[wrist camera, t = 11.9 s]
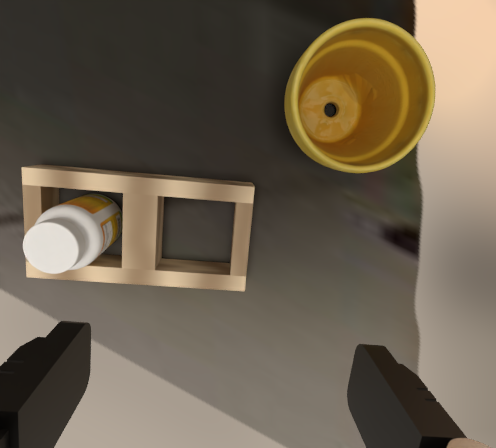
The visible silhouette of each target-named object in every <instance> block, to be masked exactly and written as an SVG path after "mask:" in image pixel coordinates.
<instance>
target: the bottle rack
mask: <svg viewBox="0 0 496 448" xmlns="http://www.w3.org/2000/svg"><path fill="white" fill-rule="evenodd" d="M22 185H23V207H24V229H25V235H26V233H27V232H28V230H29V229H30V228H31V227H33V226H34V225H35V223H36V221H37V219H38V218H39V217H40V216H41V215H42V214H43V213H44V212H45V211H47V210H48V209H50V208H52V207H54V206H57V205H59V188H70V189H82V190H94V191H106V192H118V193H123V229H122V256H121V255H107V254H100V255H99V256H98V257H97V258H96V259H95V260H94V261H93V262H91V263H90V264H88V265H87V266H85V267H83V268H80V269H75V270H67V271H65V272H62V273H58V274H50V273H45V272H42V271H40V270H38V269H36V268H35V267H34V266H32V265H31V264H30V263H29V261H28V260H27V258H26V273H27V277H31V278H46V279H62V280H78V281H93V282H109V283H124V284H140V285H155V286H171V287H186V288H202V289H217V290H233V291H245V282H246V272H247V261H248V251H249V241H250V230H251V220H252V210H253V199H254V189H255V187H254V185H253V183H251V182H239V181H228V180H216V179H205V178H193V177H182V176H170V175H159V174H147V173H136V172H124V171H112V170H101V169H89V168H78V167H66V166H55V165H43V164H42V165H34V166H26V167H22ZM164 196H167V197H179V198H191V199H203V200H215V201H227V202H235V210H234V222H233V234H232V245H231V257H230V263H221V262H207V261H193V260H178V259H164V258H162V237H163V213H164Z"/></svg>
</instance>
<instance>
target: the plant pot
mask: <svg viewBox="0 0 496 448" xmlns="http://www.w3.org/2000/svg"><path fill="white" fill-rule="evenodd" d="M434 102H435V81H434V75H433V71H432V67H431V65H430V62H429V59H428V57H427V55H426V53H425V52H424V50H423V49H422V47H421V46H420V44H419V43H418V42H417V41H416V40H415V38H414V37H412V36H411V35H410V34H409V33H408V32H407V31H405V30H404V29H402V28H400V27H399V26H397V25H395V24H393V23H390V22H387V21H384V20H380V19H373V18H361V19H353V20H349V21H346V22H343V23H340V24H338V25H336V26H334V27H332V28H330V29H328V30H327V31H325V32H324V33H323V34H321V35H320V36H319V37H318V38H317V39H316V40H315V41H314V42H313V43H312V44H311V45H310V46H309V47H308V48H307V49H306V51H305V52H304V53H303V54H302V56H301V57H300V59H299V60H298V62H297V63H296V65H295V67H294V69H293V70H292V73H291V75H290V77H289V80H288V83H287V87H286V92H285V103H284V105H285V116H286V121H287V125H288V128H289V130H290V133H291V135H292V137H293V139H294V140H295V142H296V143H297V145H298V146H299V147H300V148H301V150H302V151H303V152H304V153H305V154H306V155H308V156H309V157H310V158H311V159H313V160H314V161H316V162H318V163H320V164H322V165H324V166H326V167H329V168H332V169H335V170H339V171H344V172H350V173H367V172H373V171H377V170H381V169H384V168H386V167H388V166H390V165H392V164H394V163H396V162H397V161H399V160H400V159H402V158H403V157H404V156H405V155H406V154H408V153H409V152H410V151H411V150H412V149H413V148H414V146H415V145H416V144H417V143H418V141H419V140H420V139H421V137H422V135H423V134H424V132H425V130H426V128H427V126H428V124H429V121H430V119H431V115H432V112H433V108H434ZM328 103H332V104H334V105H335V107H336V109H337V111H336V114H335V115H334V116H332V117H328V116H326V115H325V113H324V107H325V105H326V104H328Z"/></svg>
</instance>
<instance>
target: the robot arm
mask: <svg viewBox="0 0 496 448" xmlns="http://www.w3.org/2000/svg"><path fill="white" fill-rule="evenodd" d="M90 355H91V327H90V324H89V323H84V322H71V321H61V322H59V323H58V324H57V326H56V327H55V328H54V329H53V330H52V331H51V332H50V333H49V334H48V335H47V337H46V338H44V337H37V338H35V339H33V340H32V341H30V342H28V343H26V344H24V345H22V346H20V347H19V348H18V349H17V350H16V351H15V352H14V353H13V354H12V355H11V356H10V357H9V358H8V359H7V362H4V363H3V364H2V365H1V366H0V448H54V446H55V445H56V443H57V441H58V439H59V437H60V436H61V434H62V432H63V430H64V428H65V427H66V425H67V423H68V421H69V420H70V418H71V416H72V414H73V413H74V411H75V409H76V407H77V405H78V404H79V402H80V400H81V398H82V396H83V395H84V393H85V391H86V388H87V384H88V381H89V376H90V357H91V356H90ZM347 399H348V406H349V409H350V412H351V414H352V416H353V419H354V421H355V423H356V425H357V428H358V430H359V432H360V434H361V437H362V439H363V441H364V443H365V446H366V448H491V447H489V446H487V445H485V444H483V443H481V442H478V441H475V440H472V439H468V438H467V437H466V436H465V435H464V434H463V432H462V431H461V430H460V428H459V427H458V426H457V425H456V423H455V422H454V421H453V420H452V418H451V417H450V416H449V415H448V414H447V412H446V411H445V410H444V408H443V407H442V406H441V405H440V403H439V402H437V401H436V398H435V397H434V396H433V395H432V393H431V392H430V391H428V388H427V387H426V386H425V385H424V383H423V382H422V381H421V379H420V378H419V377H418V376H417V375H416V374H415V373H413V372H412V371H411V370H409V369H408V368H407V367H405V366H404V365H403V364H398V363H397V361H396V360H395V359H394V357H393V356H392V355H391V353H390V352H389V351H388V350H387V348H386V347H385V346H379V345H366V344H359V345H358V346H357V348H356V350H355V355H354V359H353V364H352V369H351V374H350V379H349V384H348V390H347Z"/></svg>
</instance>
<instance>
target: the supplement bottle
mask: <svg viewBox="0 0 496 448" xmlns="http://www.w3.org/2000/svg"><path fill="white" fill-rule="evenodd" d="M122 229H123V214H122V212H121V209H120V208H119V206H118V205H117V204H116V203H115V202H114V201H113V200H112V199H110V198H108V197H106V196H104V195H101V194H86V195H83V196H80V197H78V198H75V199H73V200H70V201H67V202H65V203H62V204H60V205H57V206H54V207H52V208H50V209H48V210H47V211H45V212H44V213H43V214H42V215H41V216H40V217H39V218H38V219H37V221H36V223H35V225H34V226H33V227H31V228H30V229H29V230H28V232H27V233H26V235H25V237H24V240H23V251H24V254H25V256H26V258H27V260H28V261H29V263H30V264H31V265H32V266H34V267H35V268H36V269H38V270H40V271H42V272H45V273H50V274H58V273H62V272H65V271H67V270H75V269H80V268H83V267H85V266H87V265H88V264H90V263H91V262H93V261H94V260H95V259H96V258H97V257H98V256H99V255H100V254H101V253H103V252H104V251H105V250H106V249H107V248H108V247H109V246H110V245H111V244H112V243H114V242H115V241H116V240H117V238H118V237H119V236H120V234H121V232H122Z"/></svg>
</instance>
